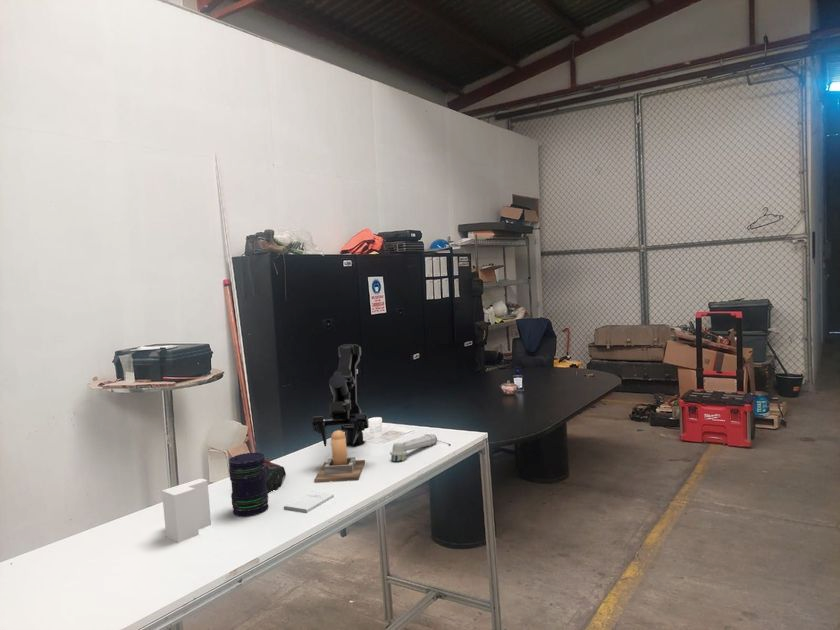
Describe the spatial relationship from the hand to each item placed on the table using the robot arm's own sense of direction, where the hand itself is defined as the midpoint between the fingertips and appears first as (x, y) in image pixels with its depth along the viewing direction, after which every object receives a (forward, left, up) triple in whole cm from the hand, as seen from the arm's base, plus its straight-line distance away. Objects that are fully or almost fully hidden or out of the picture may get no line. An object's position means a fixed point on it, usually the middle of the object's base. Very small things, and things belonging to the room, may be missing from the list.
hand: (338, 444), depth 193 cm
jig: (0, 0, -9) cm, 9 cm away
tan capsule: (0, 0, -8) cm, 8 cm away
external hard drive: (+12, -25, -10) cm, 29 cm away
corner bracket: (-4, -53, -9) cm, 54 cm away
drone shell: (-16, -19, -10) cm, 27 cm away
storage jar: (0, -36, -9) cm, 37 cm away
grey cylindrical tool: (+9, +28, -10) cm, 31 cm away
